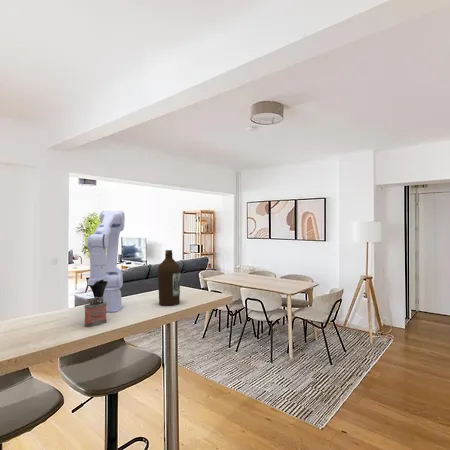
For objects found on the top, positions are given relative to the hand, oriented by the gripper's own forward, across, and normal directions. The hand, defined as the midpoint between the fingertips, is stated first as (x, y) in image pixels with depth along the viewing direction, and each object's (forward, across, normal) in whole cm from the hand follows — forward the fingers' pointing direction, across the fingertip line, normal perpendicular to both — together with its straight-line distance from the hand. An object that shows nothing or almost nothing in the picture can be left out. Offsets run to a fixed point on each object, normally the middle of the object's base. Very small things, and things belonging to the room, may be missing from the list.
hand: (98, 301), depth 121 cm
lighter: (+8, -3, 0) cm, 9 cm away
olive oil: (+8, +28, -22) cm, 36 cm away
